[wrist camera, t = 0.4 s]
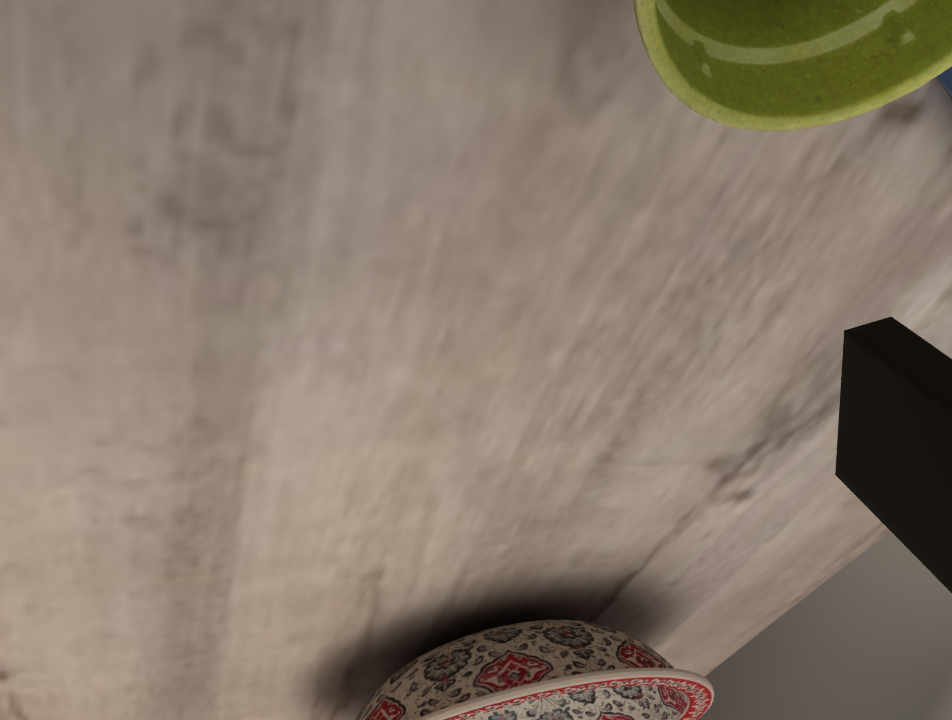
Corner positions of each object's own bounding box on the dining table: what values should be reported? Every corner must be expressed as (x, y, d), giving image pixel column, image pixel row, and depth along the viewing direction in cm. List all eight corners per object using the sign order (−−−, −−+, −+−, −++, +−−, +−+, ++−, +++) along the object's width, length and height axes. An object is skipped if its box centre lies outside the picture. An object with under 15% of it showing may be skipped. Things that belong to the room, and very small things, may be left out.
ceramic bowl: (223, 659, 59) (231, 788, 55) (646, 511, 56) (693, 635, 51) (388, 738, 83) (404, 833, 78) (693, 637, 79) (729, 730, 75)
